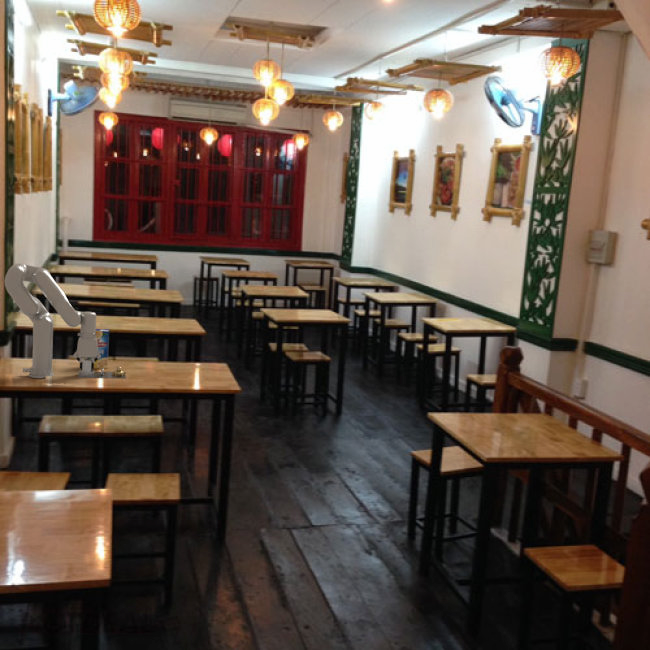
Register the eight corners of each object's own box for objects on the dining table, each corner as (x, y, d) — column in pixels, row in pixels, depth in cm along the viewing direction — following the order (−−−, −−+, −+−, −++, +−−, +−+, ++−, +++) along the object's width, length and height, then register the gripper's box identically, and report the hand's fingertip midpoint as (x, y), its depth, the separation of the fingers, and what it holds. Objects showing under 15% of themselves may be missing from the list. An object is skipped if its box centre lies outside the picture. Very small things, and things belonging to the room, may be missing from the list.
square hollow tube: (78, 376, 400) (79, 361, 399) (78, 373, 408) (78, 358, 407) (94, 376, 403) (95, 361, 402) (94, 373, 411) (94, 358, 409)
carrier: (78, 380, 397) (78, 369, 396) (78, 373, 412) (78, 363, 411) (126, 380, 404) (126, 370, 404) (124, 374, 419) (125, 364, 419)
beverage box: (107, 370, 425) (109, 331, 423) (86, 370, 423) (88, 330, 420) (107, 368, 432) (109, 329, 429) (87, 367, 429) (88, 328, 426)
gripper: (70, 336, 397) (69, 371, 399) (105, 337, 402) (103, 371, 404) (71, 333, 404) (69, 368, 406) (104, 334, 409) (103, 368, 411)
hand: (86, 369), depth 405 cm, fingers closed on square hollow tube, 4 cm apart
